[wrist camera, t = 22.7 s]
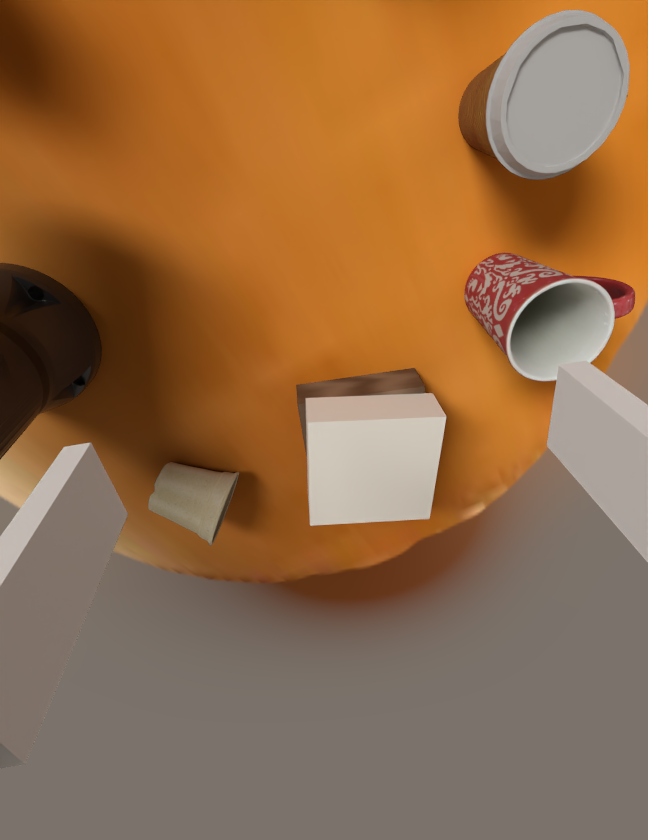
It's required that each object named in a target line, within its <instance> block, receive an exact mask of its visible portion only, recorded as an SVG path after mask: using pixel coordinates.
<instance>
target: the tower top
mask: <svg viewBox="0 0 648 840" xmlns="http://www.w3.org/2000/svg"><path fill="white" fill-rule="evenodd" d="M305 399H306V438H307V477H308V503H309V517H310V526H312V525H330V524H347V523H364V522H382V521H399V520H417V519H430V513H431V507H432V501H433V495H434V489H435V483H436V477H437V471H438V465H439V459H440V453H441V447H442V441H443V435H444V429H445V423H446V415H445V413H444V412H443V410H442V408H441V406H440V405H439V403H438V401H437V400H436V398H435V396H434V395H433V393H422V394H396V395H370V396H345V397H319V398H305Z"/></svg>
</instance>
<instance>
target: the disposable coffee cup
mask: <svg viewBox="0 0 648 840" xmlns="http://www.w3.org/2000/svg"><path fill="white" fill-rule="evenodd" d="M629 69H630V66H629V60H628V55H627V50H626V48H625V45H624V43H623V40H622V38H621V37H620V35H619V34H618V33H617V31H616V30H615V29H614V28H613V27H612V26H611V25H610V24H608V23H607V22H605V21H604V20H603V19H601V18H600V17H598V16H597V15H595V14H593V13H590V12H586V11H582V10H565V11H561V12H558V13H555V14H552V15H548V16H547V17H545V18H543V19H541V20H540V21H538V22H536V23H535V24H533V25H532V26H530V27H529V28H528V29H527V30H526V31H525V32H524V33H523V34H522V35H521V36H520V37H519V38H518V39H517V40H516V41H515V42H514V43H513V44H512V45H511V47H510V48H509V50H508V51H507V52H506V53H505V54H504V55H503V56H501V57H500V58H499V59H497V60H496V61H495V62H494V63H492V64H491V65H490V66H489V67H487V68H486V69H485V70H483V71H482V72H481V73H479V74H478V75H477V76H476V77H475V78H474V79H473V80H472V81H471V82H470V84H469V85H468V87H467V88H466V90H465V92H464V94H463V96H462V99H461V103H460V106H459V126H460V130H461V133H462V135H463V137H464V139H465V140H466V141H467V143H468V144H469V145H471V146H472V147H473V148H475V149H477V150H480V151H482V152H484V153H486V154H488V155H490V156H492V157H494V158H496V159H498V160H499V162H500V163H501V164H502V165H503V166H504V167H505V168H506V169H508V170H509V171H510V172H512V173H514V174H516V175H518V176H520V177H523V178H527V179H536V180H541V179H548V178H553V177H556V176H558V175H561V174H563V173H566V172H568V171H570V170H571V169H573V168H574V167H576V166H577V165H579V164H580V163H581V162H582V161H584V160H586V159H587V158H588V157H589V156H590V155H591V154H592V153H593V152H595V151H596V150H597V149H598V148H599V147H600V146H601V145H602V144H603V143H604V141H605V140H606V138H607V137H608V135H609V134H610V132H611V131H612V130H613V128H614V127H615V125H616V123H617V121H618V119H619V116H620V114H621V112H622V110H623V107H624V104H625V100H626V97H627V93H628V85H629Z"/></svg>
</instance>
